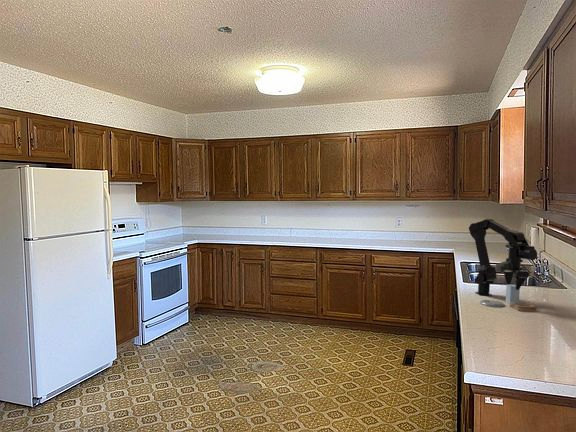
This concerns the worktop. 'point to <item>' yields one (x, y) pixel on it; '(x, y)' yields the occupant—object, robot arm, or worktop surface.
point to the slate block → (512, 294)
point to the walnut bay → (523, 307)
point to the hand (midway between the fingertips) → (512, 287)
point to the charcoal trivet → (492, 303)
